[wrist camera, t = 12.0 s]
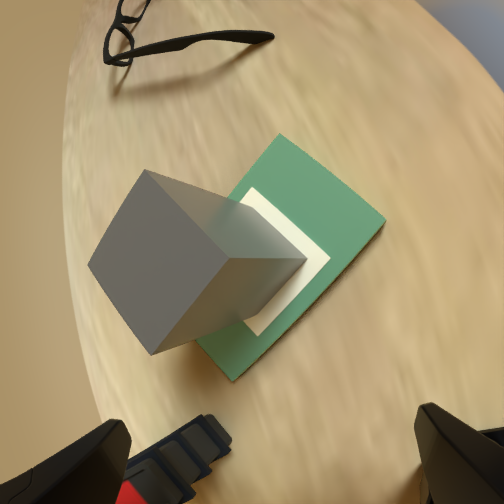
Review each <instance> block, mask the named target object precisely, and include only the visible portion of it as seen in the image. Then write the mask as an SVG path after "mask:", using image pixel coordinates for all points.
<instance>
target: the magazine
mask: <svg viewBox="0 0 504 504" xmlns="http://www.w3.org/2000/svg"><path fill="white" fill-rule="evenodd" d="M231 441H232V438H231V437H230V436H229V434H228V433H227V432H226V431H225V430H224V428H223V427H222V426H221V425H220V424H219V422H218V421H217V420H216V419H215V417H214V416H213V415H211V414H208V415H206V416H204V417H203V415H202V414H200V415H199V416H197V417H196V418H194V419H193V420H191V421H190V422H188V423H187V424H185V425H184V426H182V427H181V428H179V429H178V430H176V431H174V432H173V433H171V434H170V435H168V436H167V437H165V438H163V439H162V440H160V441H158V442H157V443H155V444H154V445H152V446H150V447H149V448H147V449H145V450H144V451H142V452H140V453H139V454H137V455H135V456H133V457H132V458H130V459H128V461H127V466H126V471H125V475H124V479H123V483H122V486H121V489H120V492H119V495H118V498H117V501H116V504H183V503H185V502H187V501H189V500H191V499H193V498H194V496H195V495H196V492H195V491H194V490H193V489H192V488H191V487H190V486H191V484H193V483H195V482H197V481H198V480H200V479H202V478H204V477H206V476H207V475H209V474H210V473H211V472H212V470H211V469H210V467H209V466H208V465H209V464H210V463H212V462H214V461H216V460H217V459H219V458H221V457H223V456H225V455H227V454H228V453H229V452H230V451H231V449H230V448H229V447H228V445H229V444H230V443H231Z"/></svg>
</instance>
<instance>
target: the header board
mask: <svg viewBox="0 0 504 504" xmlns="http://www.w3.org/2000/svg"><path fill="white" fill-rule="evenodd" d="M227 198H229V199H231V200H234V201H237V202H240V203H242V204H245V205H248V206H251V207H253V208H254V209H255V210H256V211H257V212H258V213H259V214H260V215H261V216H262V217H264V218H265V219H266V220H267V221H268V222H269V223H270V224H271V225H272V226H273V227H274V228H276V229H277V230H278V231H279V232H280V233H281V234H282V235H283V236H284V237H285V238H286V239H287V240H289V241H290V242H291V243H292V244H293V245H294V246H295V247H296V248H297V249H298V250H299V251H300V252H301V253H302V254H304V255H305V256H306V257H307V258H308V259H307V260H306V261H305V262H304V263H303V264H302V265H301V267H300V268H299V269H298V270H297V271H296V272H295V273H294V274H293V276H292V277H291V278H290V279H289V280H288V281H287V282H286V283H285V285H284V286H283V287H282V288H281V289H280V290H279V291H278V292H277V293H276V294H275V296H274V297H273V298H272V299H271V300H270V301H269V302H268V303H267V304H266V305H265V307H264V308H263V309H262V310H261V311H260V312H259V313H258V314H257V315H255V316H253V317H251V318H248V319H246V320H243V321H241V322H238V323H236V324H233V325H231V326H228V327H226V328H223V329H221V330H218V331H216V332H213V333H211V334H208V335H206V336H203V337H200V338H198V339H195V341H196V342H197V343H198V344H199V345H200V346H201V347H202V349H203V350H204V351H205V352H206V353H207V354H208V355H209V357H210V358H211V359H212V360H213V361H214V362H215V363H216V364H217V365H218V367H219V368H220V369H221V370H222V371H223V372H224V373H225V374H226V375H227V376H228V378H229V379H230V380H231V381H234V380H235V379H237V378H238V377H239V376H240V375H241V374H243V373H244V372H245V371H246V370H247V369H248V368H249V367H250V366H251V365H252V364H253V363H254V362H255V361H256V360H257V359H258V358H259V357H260V356H261V355H262V354H263V353H265V352H266V351H267V350H268V349H269V348H270V347H271V346H272V345H273V344H274V343H275V342H276V341H277V340H278V339H279V338H280V337H281V336H282V335H283V334H284V333H285V332H286V331H287V330H288V329H289V328H290V327H291V326H292V325H293V324H294V323H295V322H296V321H297V320H298V318H299V317H300V316H301V315H302V314H303V313H304V312H305V311H306V310H307V309H308V308H309V307H310V306H311V305H312V304H313V303H314V302H315V301H316V300H317V299H318V298H319V297H320V295H321V294H322V293H323V292H324V291H325V290H326V289H327V288H328V287H329V286H330V285H331V284H332V283H333V281H334V280H335V279H336V278H337V277H338V276H339V275H340V274H341V273H342V272H343V271H344V269H345V268H346V267H347V266H348V265H349V264H350V263H351V262H352V260H353V259H354V258H355V257H356V256H357V255H358V254H359V253H360V251H361V250H362V249H363V248H364V247H365V246H366V245H367V243H368V242H369V241H370V240H371V239H372V238H373V236H374V235H375V234H376V233H377V232H378V231H379V229H380V228H381V227H382V226H383V225H384V223H385V222H386V219H385V218H384V217H383V216H382V215H381V214H380V213H378V212H377V211H376V210H375V209H374V208H373V207H372V206H371V205H369V204H368V203H367V202H366V201H365V200H364V199H362V198H361V197H360V196H359V195H358V194H357V193H355V192H354V191H353V190H352V189H351V188H349V187H348V186H347V185H346V184H345V183H343V182H342V181H341V180H340V179H338V178H337V177H336V176H335V175H334V174H332V173H331V172H330V171H329V170H327V169H326V168H325V167H324V166H322V165H321V164H320V163H318V162H317V161H316V160H315V159H313V158H312V157H311V156H309V155H308V154H307V153H305V152H304V151H303V150H302V149H300V148H299V147H298V146H296V145H295V144H294V143H292V142H291V141H289V140H288V139H287V138H285V137H284V136H283V135H281V134H280V133H279V135H278V136H277V137H276V138H275V139H274V140H273V142H272V143H271V144H270V145H269V147H268V148H267V149H266V150H265V151H264V153H263V154H262V155H261V156H260V157H259V159H258V160H257V161H256V162H255V164H254V165H253V166H252V167H251V168H250V170H249V171H248V172H247V173H246V175H245V176H244V177H243V178H242V180H241V181H240V182H239V183H238V185H237V186H236V187H235V188H234V190H233V191H232V192H231V193H230V195H229V196H228V197H227Z"/></svg>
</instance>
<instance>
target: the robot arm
mask: <svg viewBox="0 0 504 504" xmlns="http://www.w3.org/2000/svg"><path fill="white" fill-rule="evenodd" d="M414 431H415V435H416V439H417V444H418V448H419V453H420V457H421V462H422V467H423V471H424V472H423V476H422V480H421V483H420V504H504V427H500V428H494V429H488V430H481V431H476V430H475V429H473V428H472V427H470V426H469V425H467V424H465V423H464V422H462V421H461V420H459V419H458V418H456V417H455V416H453V415H451V414H450V413H448V412H447V411H445V410H444V409H442V408H441V407H439V406H438V405H436V404H435V403H432V402H430V403H426V404H422V405H420V406H419V408H418V411H417V415H416V419H415V423H414ZM131 443H132V440H131V436H130V434H129V432H128V430H127V428H126V426H125V424H124V422H123V421H122V420H118V419H109V420H108V421H106V422H105V423H103V424H102V425H100V426H98V427H97V428H95V429H94V430H92V431H91V432H89V433H88V434H86V435H85V436H83V437H81V438H80V439H78V440H77V441H75V442H74V443H72V444H71V445H69V446H67V447H66V448H64V449H62V450H61V451H59V452H58V453H56V454H54V455H53V456H51V457H49V458H48V459H46V460H45V461H43V462H41V463H40V464H38V465H36V466H35V467H34V468H31V469H30V470H28V471H26V472H24V473H22V474H21V475H19V476H17V477H15V478H13V479H11V480H9V481H7V482H5V483H3V484H0V504H116V501H117V498H118V495H119V492H120V489H121V486H122V483H123V479H124V475H125V471H126V466H127V461H128V457H129V452H130V448H131Z"/></svg>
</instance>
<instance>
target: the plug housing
mask: <svg viewBox="0 0 504 504" xmlns="http://www.w3.org/2000/svg"><path fill="white" fill-rule="evenodd" d="M307 259H308V258H307V257H306V256H305V255H304V254H302V253H301V252H300V251H299V250H298V249H297V248H296V247H295V246H294V245H293V244H292V243H291V242H290V241H289V240H287V239H286V238H285V237H284V236H283V235H282V234H281V233H280V232H279V231H278V230H277V229H276V228H274V227H273V226H272V225H271V224H270V223H269V222H268V221H267V220H266V219H265V218H264V217H262V216H261V215H260V214H259V213H258V212H257V211H256V210H255V209H254V208H253V207H251V206H248V205H245V204H242V203H240V202H237V201H234V200H231V199H229V198H226V197H223V196H220V195H218V194H215V193H212V192H209V191H206V190H204V189H201V188H198V187H195V186H192V185H189V184H187V183H184V182H181V181H178V180H175V179H172V178H169V177H166V176H163V175H160V174H157V173H154V172H151V171H148V170H145V169H144V171H143V172H142V174H141V175H140V177H139V178H138V180H137V181H136V183H135V184H134V186H133V187H132V189H131V191H130V192H129V194H128V195H127V197H126V199H125V200H124V202H123V203H122V205H121V207H120V208H119V210H118V212H117V213H116V215H115V217H114V218H113V220H112V222H111V223H110V225H109V227H108V228H107V230H106V232H105V234H104V235H103V237H102V239H101V241H100V242H99V244H98V246H97V248H96V250H95V252H94V253H93V255H92V257H91V259H90V261H89V263H88V267H89V268H90V270H91V272H92V273H93V275H94V276H95V278H96V279H97V281H98V283H99V284H100V286H101V287H102V289H103V290H104V292H105V293H106V295H107V296H108V298H109V299H110V301H111V302H112V304H113V305H114V306H115V308H116V309H117V311H118V312H119V314H120V315H121V316H122V318H123V319H124V321H125V322H126V323H127V325H128V326H129V328H130V329H131V330H132V332H133V333H134V334H135V336H136V337H137V338H138V340H139V341H140V342H141V344H142V345H143V346H144V348H145V349H146V350H147V352H148V353H149V354H150V355H151V356H152V355H155V354H157V353H160V352H163V351H166V350H168V349H171V348H174V347H177V346H179V345H182V344H185V343H187V342H190V341H192V340H195V339H198V338H200V337H203V336H206V335H208V334H211V333H213V332H216V331H218V330H221V329H223V328H226V327H228V326H231V325H233V324H236V323H238V322H241V321H243V320H246V319H248V318H251V317H253V316H255V315H257V314H258V313H259V312H260V311H261V310H262V309H263V308H264V307H265V305H266V304H267V303H268V302H269V301H270V300H271V299H272V298H273V297H274V296H275V294H276V293H277V292H278V291H279V290H280V289H281V288H282V287H283V286H284V285H285V283H286V282H287V281H288V280H289V279H290V278H291V277H292V276H293V274H294V273H295V272H296V271H297V270H298V269H299V268H300V267H301V265H302V264H303V263H304V262H305V261H306V260H307Z"/></svg>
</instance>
